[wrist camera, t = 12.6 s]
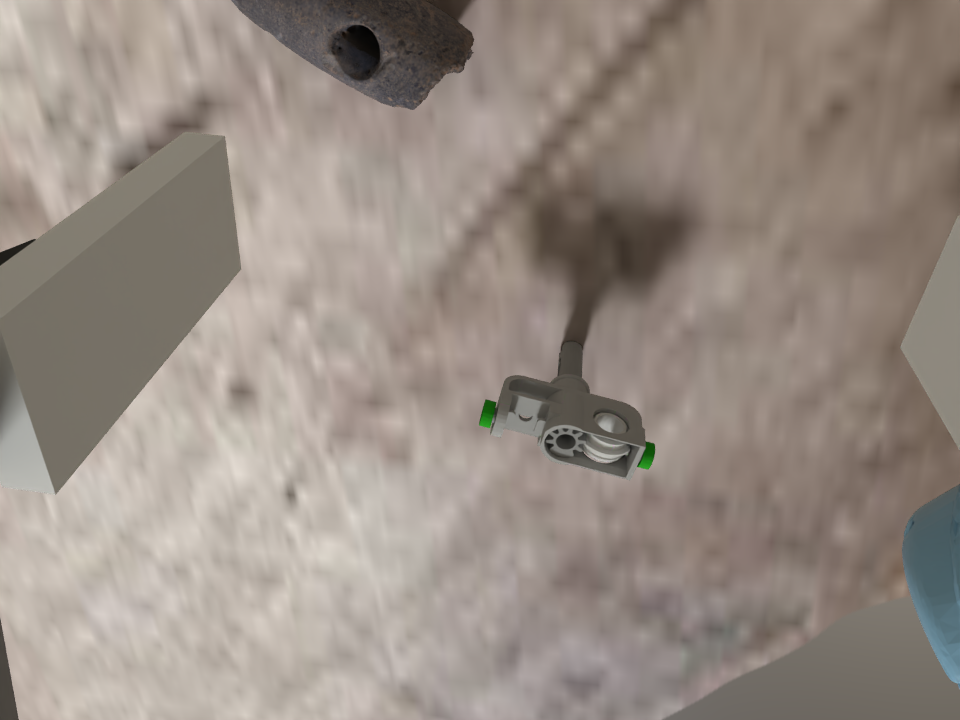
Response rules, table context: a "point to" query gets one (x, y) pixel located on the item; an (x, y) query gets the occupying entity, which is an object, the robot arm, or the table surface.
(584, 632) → the table surface
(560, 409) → the mechanical component
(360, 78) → the perforated stone tool
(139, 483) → the table surface
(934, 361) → the robot arm
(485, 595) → the table surface
